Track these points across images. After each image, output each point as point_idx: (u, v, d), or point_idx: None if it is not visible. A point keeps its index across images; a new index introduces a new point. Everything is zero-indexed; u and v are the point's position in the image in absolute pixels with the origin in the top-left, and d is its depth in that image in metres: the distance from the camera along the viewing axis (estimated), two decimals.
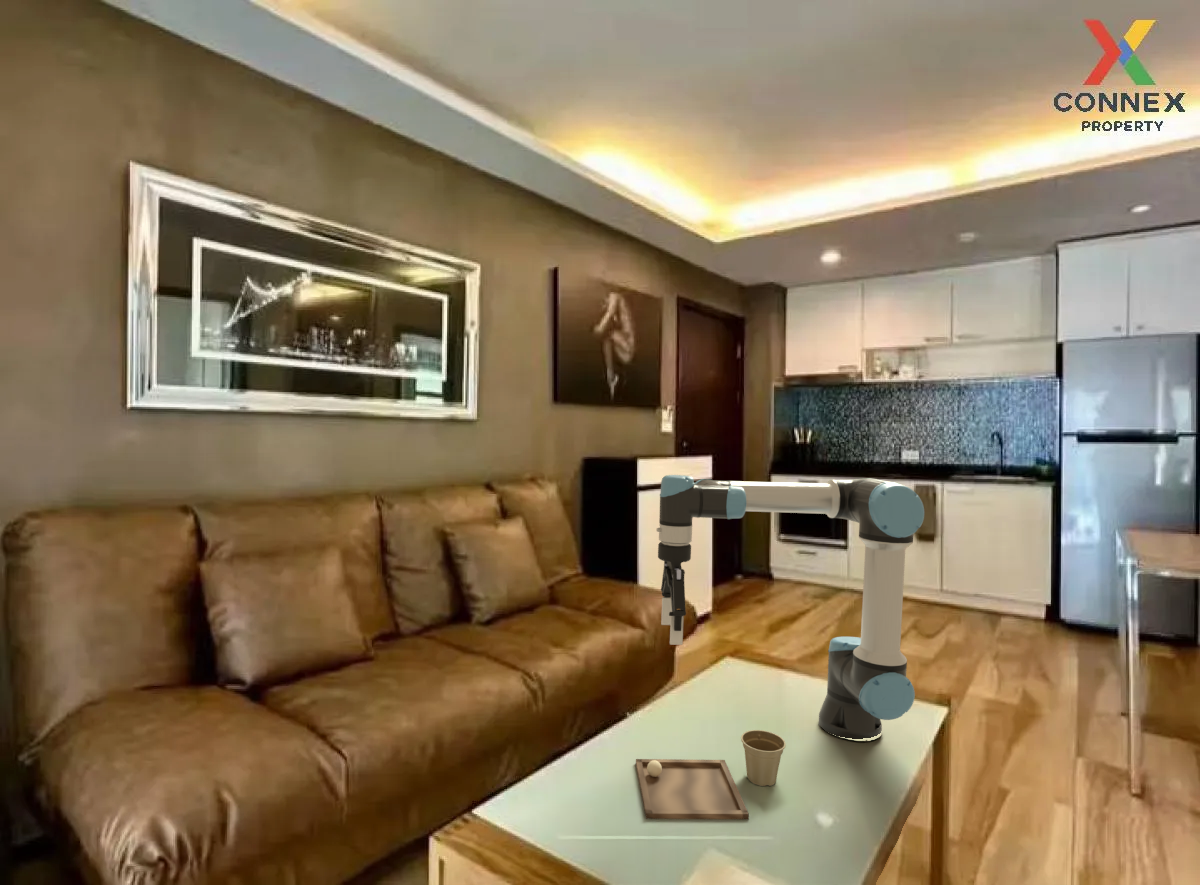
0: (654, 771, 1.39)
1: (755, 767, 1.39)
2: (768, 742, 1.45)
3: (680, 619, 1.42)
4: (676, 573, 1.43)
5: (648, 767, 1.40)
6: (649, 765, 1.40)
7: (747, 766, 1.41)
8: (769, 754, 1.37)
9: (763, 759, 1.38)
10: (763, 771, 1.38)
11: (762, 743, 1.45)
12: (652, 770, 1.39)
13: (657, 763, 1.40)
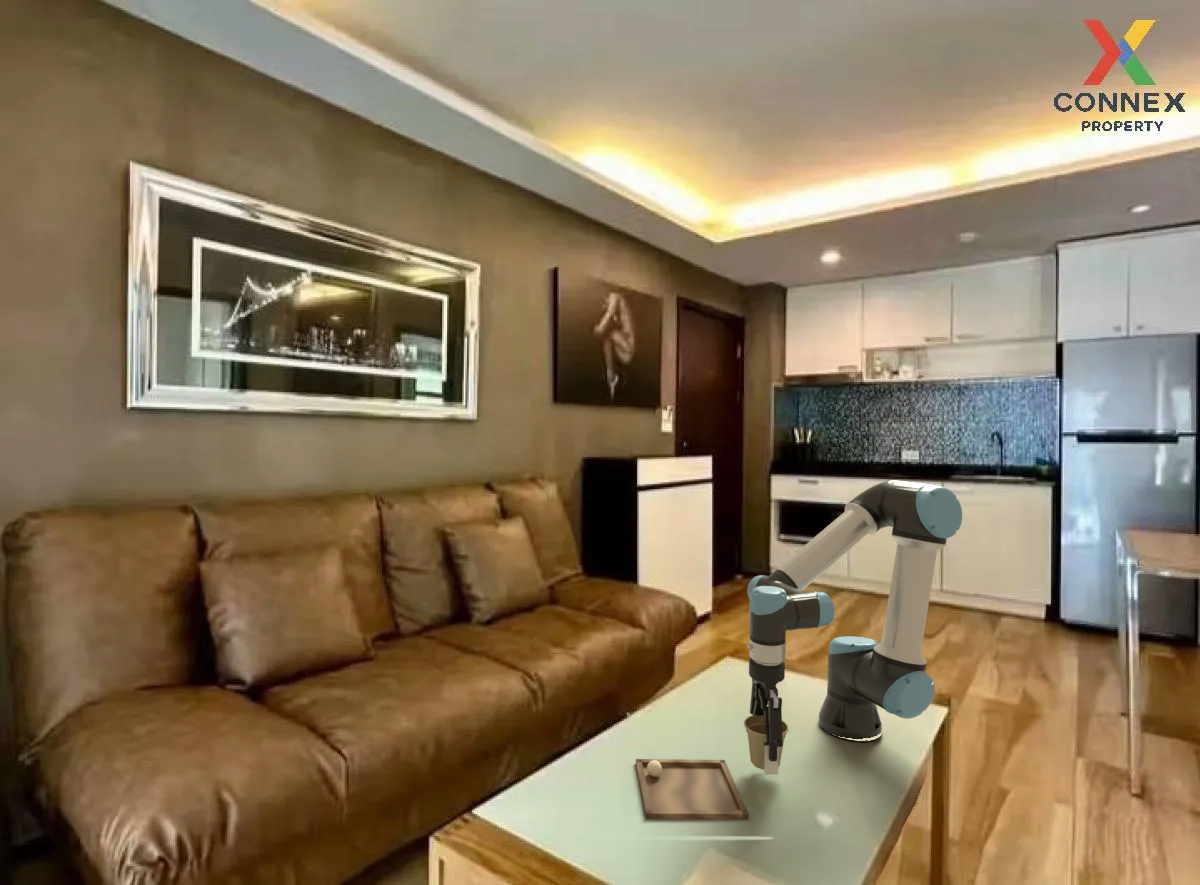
0: (654, 771, 1.39)
1: (759, 751, 1.39)
2: None
3: (776, 749, 1.35)
4: (773, 703, 1.34)
5: (648, 767, 1.40)
6: (649, 765, 1.40)
7: (750, 751, 1.41)
8: None
9: None
10: None
11: None
12: (652, 770, 1.39)
13: (657, 763, 1.40)
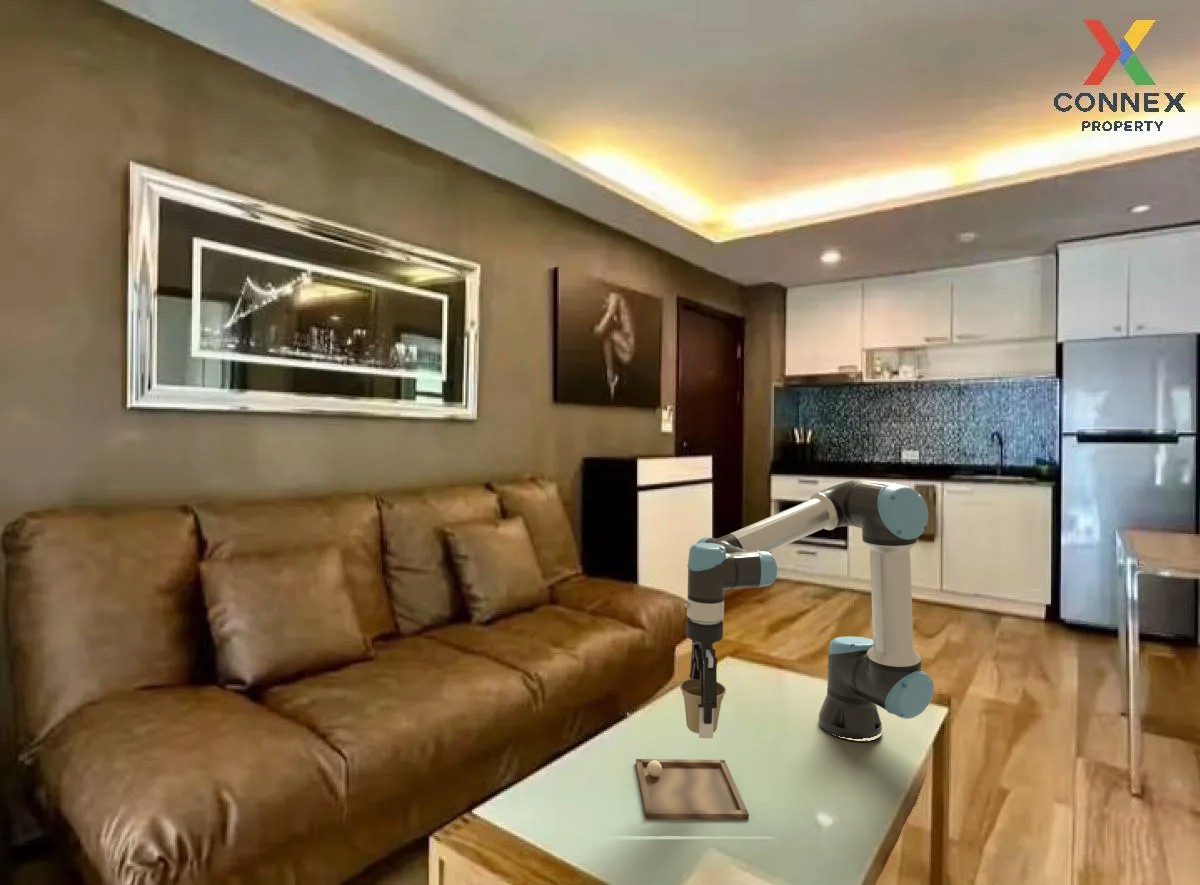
0: (654, 771, 1.39)
1: (694, 714, 1.32)
2: None
3: (710, 711, 1.29)
4: (708, 662, 1.28)
5: (648, 767, 1.40)
6: (649, 765, 1.40)
7: (686, 714, 1.35)
8: None
9: None
10: None
11: None
12: (652, 770, 1.39)
13: (657, 763, 1.40)
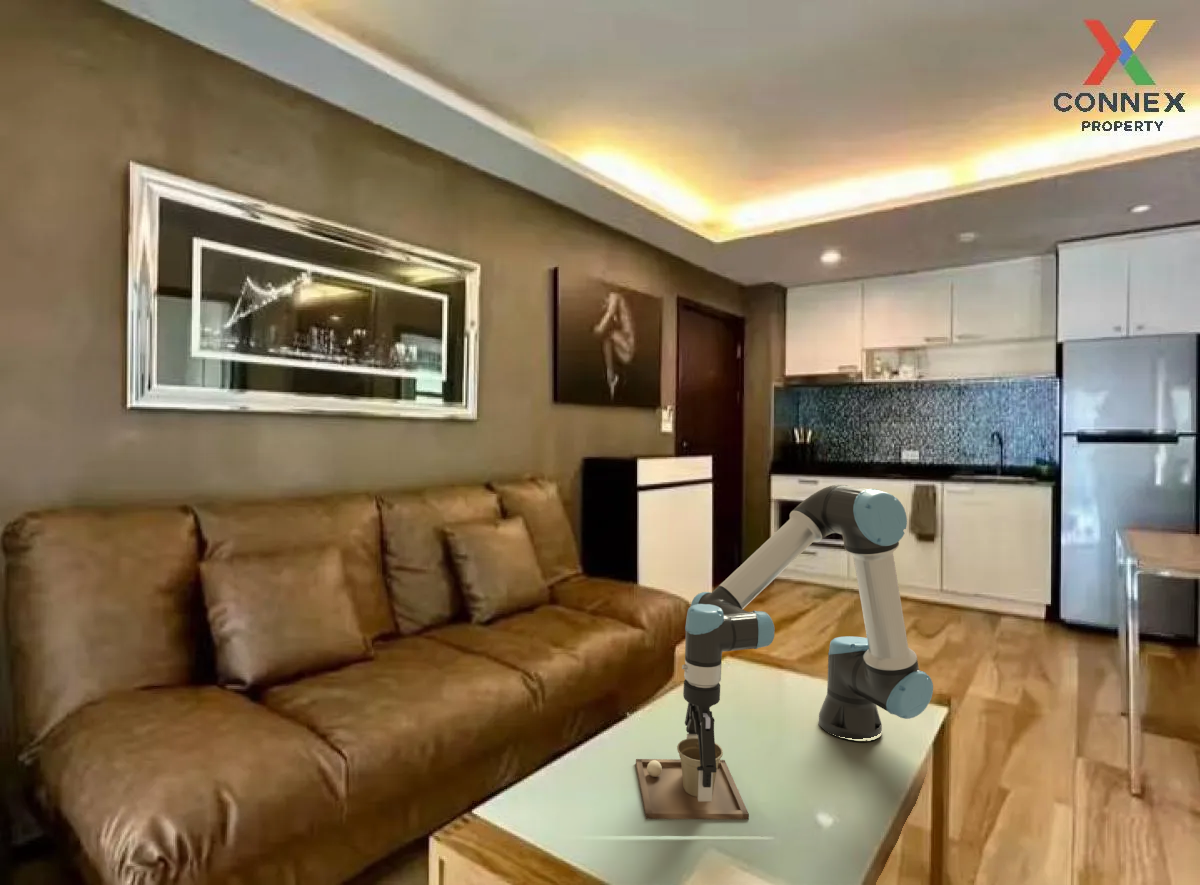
0: (654, 771, 1.39)
1: (691, 777, 1.33)
2: None
3: (710, 774, 1.27)
4: (705, 722, 1.28)
5: (648, 767, 1.40)
6: (649, 765, 1.40)
7: (683, 776, 1.35)
8: None
9: None
10: None
11: None
12: (652, 770, 1.39)
13: (657, 763, 1.40)
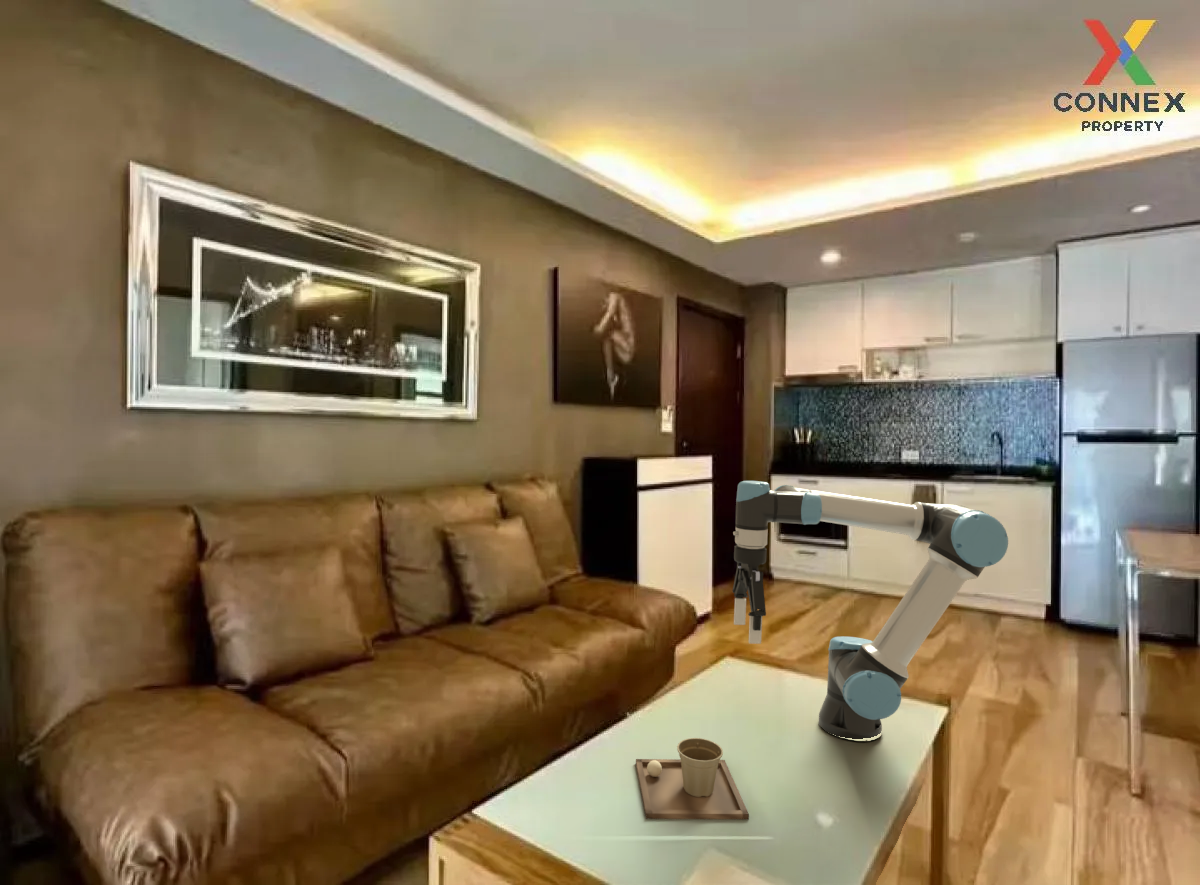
0: (654, 771, 1.39)
1: (691, 777, 1.33)
2: (706, 750, 1.39)
3: (759, 619, 1.48)
4: (755, 575, 1.49)
5: (648, 767, 1.40)
6: (649, 765, 1.40)
7: (683, 776, 1.35)
8: (704, 763, 1.31)
9: (698, 769, 1.32)
10: (698, 781, 1.32)
11: (701, 752, 1.39)
12: (652, 770, 1.39)
13: (657, 763, 1.40)
